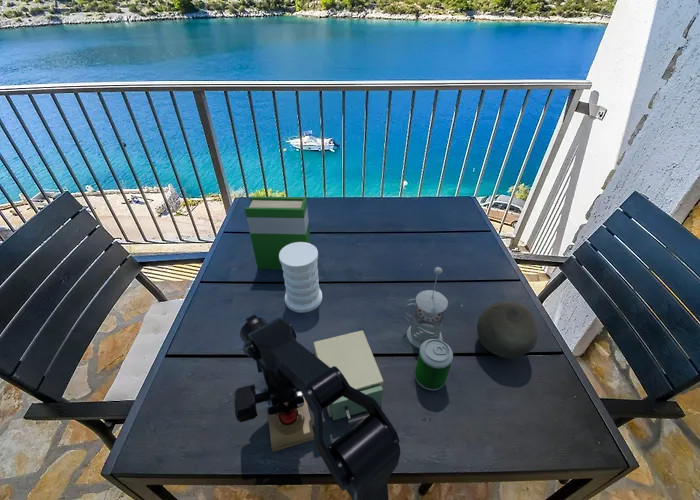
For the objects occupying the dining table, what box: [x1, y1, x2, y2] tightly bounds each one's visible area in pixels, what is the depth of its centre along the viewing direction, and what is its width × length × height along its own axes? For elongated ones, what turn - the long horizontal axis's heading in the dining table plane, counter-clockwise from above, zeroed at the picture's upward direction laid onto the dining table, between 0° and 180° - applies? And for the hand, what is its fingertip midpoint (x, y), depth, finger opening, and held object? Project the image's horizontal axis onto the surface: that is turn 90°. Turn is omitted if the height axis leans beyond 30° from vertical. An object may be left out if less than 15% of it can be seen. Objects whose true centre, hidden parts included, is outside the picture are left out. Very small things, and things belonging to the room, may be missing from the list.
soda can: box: [414, 339, 454, 392], centre depth 83 cm, size 8×8×12 cm
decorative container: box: [279, 242, 323, 313], centre depth 103 cm, size 12×12×18 cm
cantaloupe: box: [476, 300, 539, 359], centre depth 89 cm, size 14×14×15 cm
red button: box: [280, 410, 297, 425], centre depth 76 cm, size 4×4×2 cm
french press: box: [402, 266, 449, 349], centre depth 90 cm, size 10×12×25 cm
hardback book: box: [244, 196, 312, 270], centre depth 114 cm, size 18×7×24 cm, turn 88°
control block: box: [266, 396, 315, 453], centre depth 77 cm, size 10×9×4 cm
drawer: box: [331, 385, 384, 429], centre depth 80 cm, size 18×11×7 cm, turn 17°
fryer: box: [313, 330, 385, 418], centre depth 83 cm, size 15×13×9 cm
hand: (288, 413), depth 75 cm, fingers closed, pressing on red button
